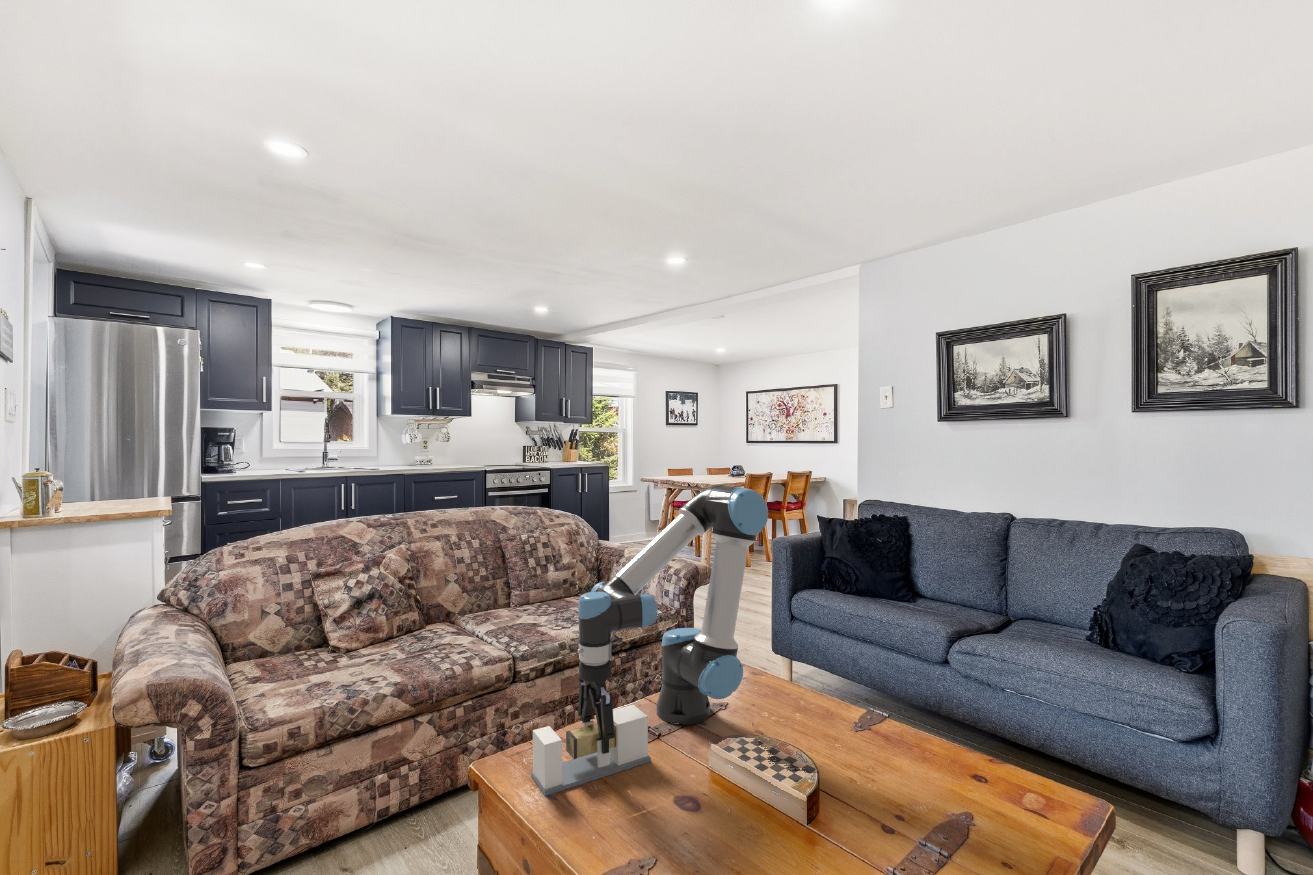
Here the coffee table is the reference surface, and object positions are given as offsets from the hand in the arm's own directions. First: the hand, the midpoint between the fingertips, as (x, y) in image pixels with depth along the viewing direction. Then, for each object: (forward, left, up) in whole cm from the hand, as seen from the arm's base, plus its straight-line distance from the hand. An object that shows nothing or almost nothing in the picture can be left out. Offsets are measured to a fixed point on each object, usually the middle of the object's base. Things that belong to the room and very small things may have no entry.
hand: (595, 756), depth 144 cm
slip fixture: (+1, 0, -2) cm, 3 cm away
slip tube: (-3, 0, +2) cm, 3 cm away
